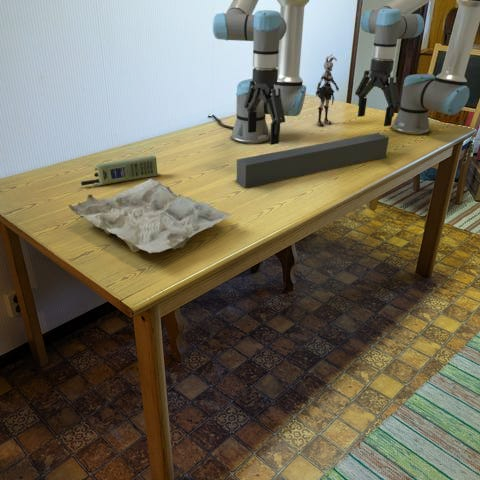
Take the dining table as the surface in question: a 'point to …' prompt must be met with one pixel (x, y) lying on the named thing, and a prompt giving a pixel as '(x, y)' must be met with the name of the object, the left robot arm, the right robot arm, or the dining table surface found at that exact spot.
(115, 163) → the handheld radio
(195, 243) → the dining table surface
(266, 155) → the beam
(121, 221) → the grey pulp egg tray
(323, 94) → the figurine
